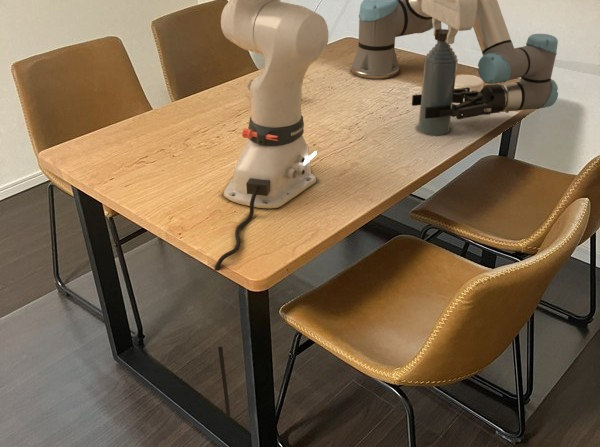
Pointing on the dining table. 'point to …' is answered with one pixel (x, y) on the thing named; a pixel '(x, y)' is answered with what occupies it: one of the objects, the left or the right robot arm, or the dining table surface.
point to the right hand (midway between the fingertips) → (419, 106)
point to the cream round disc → (469, 82)
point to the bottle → (437, 87)
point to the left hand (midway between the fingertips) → (443, 40)
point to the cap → (441, 34)
